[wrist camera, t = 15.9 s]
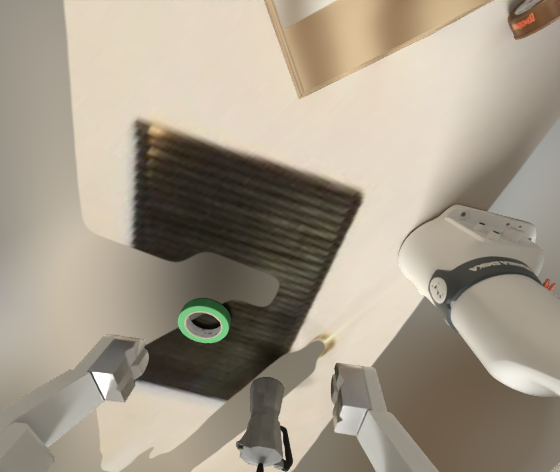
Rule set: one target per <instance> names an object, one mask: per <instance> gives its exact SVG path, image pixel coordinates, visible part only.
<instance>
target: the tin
mask: <svg viewBox="0 0 560 472" xmlns="http://www.w3.org/2000/svg"><path fill="white" fill-rule="evenodd" d="M558 19H560V0H524V1H523V2H522V3H521V4H520V5H518V6H517V7H516V8H515V9H514V10H513V12H512V13H511V14H510V15H509V17H508V23H509V26H510V28H511V30H512V32H513V34H514V38H515V39H522V38H525V37H527V36H529V35H531V34H533V33H535V32H537V31H539V30H541V29H543V28H544V27H546V26H548V25H550V24H551V23H553V22H555V21H556V20H558Z"/></svg>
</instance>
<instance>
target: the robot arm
mask: <svg viewBox="0 0 560 472" xmlns="http://www.w3.org/2000/svg"><path fill="white" fill-rule="evenodd" d="M463 212H464V213H463ZM462 213H463V215H461V214H462ZM535 240H536V228H535V226H534V225H533V224H531V223H529V222H525V221H522V220H518V219H514V218H509V217H506V216H502V215H498V214H494V213H490V212H486V211H482V210H478V209H474V208H470V207H467V206H463V205H458V204H457V205H453V206H451V207H449V208H448V209H447V210H446V211H445V212H443V213H442V214H441V215H440V216H439V217H437V218H436V219H434V220H431V221H429V222H427V223H425V224H423V225H422V226H420V227H418V228H417V229H416V230H414V231H413V232H412V233H411V234H410V235H409V236H408V237H407V239H406V240H405V241H404V243H403V245H402V247H401V249H400V252H399V257H398V263H399V267H400V270H401V272H402V273H403V274H404V275H405V276H406V277H407V278H408V279H409V280H410V281H412V282H413V283H414V284H415V286H416V288H417V290H418V291H419V293H420V294H421V295H423V296H426V297H427V298H428V299H429V300H430V301H431V302H432V303H433V304H434V305H435V306H436V308H437V310H438V311H439V312H440V314H441V315H442V316H443V318H444V319H445V321H446V322H447V323H448V324H449V325H450V326H451V328H452V329H453V330H455V331H456V332H458V333H460V335H461V336H462V337H463V338H464V340H465V341H466V342H467V344H468V345H469V347H470V348H471V349H472V351H473V352H474V353H475V355H477V357H478V358H479V360H480V361H481V362H482V364H483V365H484V366H485V368H486V369H487V370H488V372H489V373H490V374H491V375H492V376H493V377H494V378H496V379H497V380H498V381H500V382H502V383H503V384H505V385H507V386H509V387H511V388H513V389H516V390H518V391H521V392H523V393H527V394H531V395H536V396H546V397H560V297H558V296H557V295H555V294H554V293H552V292H551V291H552V289H553V287H554V286H555V284H556V283H553V284H552V285H551V286H550V287H549V282H550V279H546V281H545V282H544V284H543V285H542V284H541V282H540V280H539V279H538V278H537V275H538V274H539V271H540V270H541V267H542V265H543V261H544V252H543V250H542V249H541V247H540V246H538V245H537V244H535ZM548 287H549V288H548ZM547 288H548V289H547ZM144 346H145V341H144V339H138V338H132V337H125V336H119V335H111V334H107V335H105V336H104V337H102V338H101V340H100V341H99V342H98V343H97V344H96V345H95V346H94V347H93V348H92V350H91V351H90V352H89V353H88V354H87V355H86V356H85V357H84V359H83V360H82V361H81V362H80V363H79V364H78V365H77V366H76V368H75V369H74V370H69V371H66V372H65V373H63V374H61V375H60V376H58V377H56V378H54V379H53V380H51V381H49V382H47V383H46V384H44V385H42V386H40V387H38V388H37V389H35V390H33V391H32V392H30V393H28V394H26V395H24V396H23V397H21V398H20V399H17V400H16V401H14V402H12V403H10V404H9V405H7V406H5V407H4V408H2V409H0V472H47V471H48V470H49V468H50V467H51V465H52V464H53V462H54V456H53V455H52V453H51V452H50V451H49V450H48V449H47V448H48V447H49V446H50V445H51V444H53V443H54V442H55V441H56V440H57V439H59V438H60V437H61V436H62V435H64V434H65V433H66V432H67V431H69V430H70V429H71V428H72V427H74V426H75V425H76V424H77V423H78V422H80V421H81V420H82V419H83V418H85V417H86V416H87V415H88V414H89V413H90V412H92V411H93V410H94V409H96V408H97V407H98V406H99V405H100V404H102V403H103V402H104V400H107V401H116V402H125V401H126V400H127V398H128V396H129V395H130V393H131V392H132V390H133V388H134V387H135V379H137V378H138V377H139V376H141V375H142V374H143V372H144V370H145V369H146V366H147V363H148V359H149V355H148V351H147V350H146V349H144V348H143V347H144ZM334 369H335V374H334V375H333V376H332V380H331V399H332V402H333V403H334V405H335V406H334V410H333V421H334V432H338V433H344V434H349V435H355V436H357V439H358V440H359V442H360V444H361V445H362V447H363V449H364V451H365V453H366V454H367V456H368V458H369V460H370V461H371V463H372V465H373V467H374V469H375V470H376V472H439V471H438V470H437V469H436V468H435V467H434V465H433V464H432V463H431V461H430V460H429V459H428V458H427V457H426V455H425V454H424V453H423V452H422V450H421V449H420V448H419V447H418V445H417V444H416V443H415V442H414V441H413V439H412V438H411V437H410V435H409V434H408V433H407V432H406V431H405V429H404V428H403V427H402V426H401V424H400V423H399V422H398V421H397V419H396V418H395V417H394V416H393V414H392V413H388V412H387V409H386V405H385V402H384V398H383V394H382V390H381V387H380V383H379V380H378V376H377V372H376V370H375V368H373V367H365V366H360V365H351V364H342V363H336V365H335V368H334ZM551 472H560V463H559V464H558V465H557V466H555V467H554V468H553V469H552V470H551Z"/></svg>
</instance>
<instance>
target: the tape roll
mask: <svg viewBox="0 0 560 472" xmlns="http://www.w3.org/2000/svg"><path fill="white" fill-rule="evenodd" d="M197 312H204V313H208V314H211V315H213V316H214V317H215V318H216V319H218V320H219V322H220V324H221V326H220V327H218V328H216V329H212V330H206V329H202V328H199V327H197V326H196V325H195V324H193V322H192V321H191V319H190V315H191V314H192V313H197ZM230 323H231V317H230V314H229V312H228V310H227V309H226V308H225V307H224V306H223V305H221V303H220V302H218V301H215V300H212V299H208V298H198V299H194V300H191V301H189V302H188V303H187V304H186V305H185V306H184V308H183V309H182V311H181V313H180V315H179V317H178V326H179V328H180V330H181V331H182V333H183V334H184V335H186V336H187V337H188V338H190V339H192V340H194V341H197V342H202V343H213V342H217V341H219V340H221V339H223V338H224V337H225V336H226V335H227V333H228V330H229V327H230Z"/></svg>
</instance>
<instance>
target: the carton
mask: <svg viewBox="0 0 560 472" xmlns="http://www.w3.org/2000/svg"><path fill="white" fill-rule="evenodd" d="M264 1H265V4H266V7H267V10H268V13H269V15H270V18H271V21H272V24H273V27H274V30H275V32H276V35H277V38H278V41H279V44H280V47H281V49H282V52H283V55H284V58H285V61H286V64H287V66H288V69H289V72H290V75H291V78H292V81H293V83H294V86H295V89H296V92H297V95H298V98H299V99H301V98H303V97H305V96H307V95H309V94H311V93H313V92H315V91H317V90H319V89H321V88H323V87H325V86H327V85H329V84H331V83H334V82H336V81H338V80H340V79H342V78H344V77H346V76H348V75H350V74H352V73H354V72H356V71H358V70H360V69H362V68H364V67H366V66H368V65H370V64H372V63H374V62H376V61H378V60H380V59H382V58H384V57H386V56H388V55H390V54H392V53H394V52H396V51H398V50H400V49H402V48H404V47H406V46H408V45H410V44H412V43H414V42H417V41H419V40H421V39H423V38H425V37H427V36H429V35H431V34H433V33H434V32H436V31H438V30H440V29H442V28H444V27H446V26H447V25H449V24H451V23H453V22H455V21H457V20H459V19H460V18H462V17H464V16H466V15H468V14H470V13H471V12H473V11H475V10H477V9H479V8H481V7H483V6H484V5H486V4H488V3H490V2H492V1H494V0H264Z"/></svg>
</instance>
